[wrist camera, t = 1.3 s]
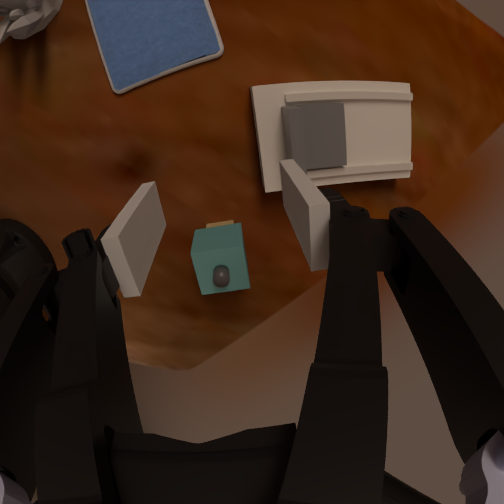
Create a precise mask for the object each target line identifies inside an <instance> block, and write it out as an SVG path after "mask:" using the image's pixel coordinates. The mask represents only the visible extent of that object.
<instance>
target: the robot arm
mask: <svg viewBox="0 0 504 504" xmlns="http://www.w3.org/2000/svg"><path fill="white" fill-rule="evenodd" d="M279 165H280V174H281V184H282V194H283V205H284V208H285V211H286V213H287V215H288V218H289V220H290V222H291V224H292V227H293V229H294V231H295V234H296V236H297V238H298V241H299V243H300V245H301V248H302V250H303V252H304V255H305V257H306V260H307V262H308V264H309V267H310V269H311V271H316V270H322V269H328V273H327V281H326V289H325V296H324V303H323V310H322V317H321V323H320V330H319V336H318V342H317V348H316V354H315V359H314V363H312V364H311V366H310V371H309V375H308V380H307V385H306V390H305V395H304V399H303V404H302V408H301V413H300V417H299V422H298V426H297V429H296V424H295V423H290V424H284V425H278V426H271V427H263V428H255V429H247V430H244V431H241V432H238V433H235V434H232V435H229V436H225V437H222V438H219V439H215V440H212V441H208V442H204V443H200V444H199V443H198V444H197V443H190V442H186V441H181V440H176V439H172V438H168V437H164V436H160V435H156V434H148V433H147V434H145V433H143V429H142V425H141V421H140V417H139V413H138V409H137V404H136V400H135V394H134V390H133V385H132V379H131V374H130V369H129V363H128V357H127V350H126V344H125V337H124V330H123V322H122V314H121V305H120V301H119V298H118V296H117V294H116V293H117V290H118V288H119V287H120V289H121V291H122V294H123V296H124V298H125V297H134V296H141V293H142V290H143V287H144V284H145V281H146V278H147V275H148V273H149V270H150V267H151V264H152V262H153V259H154V256H155V253H156V251H157V248H158V245H159V243H160V240H161V237H162V235H163V232H164V230H165V227H166V222H165V218H164V215H163V211H162V207H161V203H160V199H159V195H158V191H157V187H156V183H155V181H153V182H149V183H144V184H142V185H141V186H140V187H139V189H138V190H137V191H136V193H135V194H134V195H133V196H132V198H131V199H130V200H129V202H128V203H127V204H126V205H125V207H124V208H123V209H122V211H121V212H120V213H119V215H118V216H117V217H116V219H115V220H114V222H113V223H112V224H110V225H108V226H107V227H106V228H105V229H103V231H102V232H101V233H100V236H98V238H97V240H95V241H94V239H93V236H92V233H91V231H90V229H81V230H77V231H75V232H73V233H71V234H70V235H68V236H66V237H65V238H64V239H63V241H62V242H61V243H62V245H63V247H64V250H65V252H66V254H67V257H68V259H69V263H68V267H67V268H65V269H62V270H60V271H57V270H56V266H55V263H54V260H53V258H52V256H51V254H50V252H49V250H48V248H47V247H46V245H45V244H44V242H43V241H42V240H41V239H40V238H39V236H38V235H37V234H36V233H35V232H34V231H32V230H31V229H30V228H29V227H27V226H26V225H24V224H22V223H21V222H18V221H16V220H12V219H1V220H0V504H441V503H439V502H437V501H435V500H433V499H431V498H430V497H428V496H426V495H424V494H422V493H420V492H419V491H417V490H416V489H414V488H412V487H410V486H409V485H407V484H405V483H404V482H402V481H400V480H399V479H397V478H396V477H394V476H392V475H391V474H389V473H387V472H386V471H384V468H385V457H386V442H387V423H388V371H387V368H386V367H383V366H382V343H381V320H380V304H379V292H378V279H377V271H382V272H384V276H385V278H386V280H387V282H388V284H389V286H390V288H391V290H392V292H393V294H394V296H395V298H396V300H397V302H398V304H399V306H400V308H401V310H402V313H403V315H404V317H405V319H406V321H407V323H408V325H409V328H410V330H411V332H412V334H413V337H414V339H415V341H416V343H417V346H418V348H419V350H420V353H421V355H422V358H423V360H424V362H425V365H426V367H427V370H428V372H429V375H430V377H431V380H432V383H433V385H434V388H435V390H436V393H437V396H438V398H439V401H440V404H441V407H442V410H443V413H444V415H445V418H446V421H447V424H448V427H449V430H450V433H451V436H452V438H453V441H454V444H455V446H456V448H457V450H458V452H459V454H460V456H461V458H462V460H463V462H464V463H465V466H464V467H463V471H462V475H461V481H460V484H459V487H460V491H461V493H462V494H463V495H465V496H466V504H504V310H503V308H502V307H501V306H500V305H499V303H498V302H497V300H496V299H495V298H494V296H493V295H492V294H491V292H490V291H489V290H488V288H487V287H486V286H485V284H484V283H483V282H482V281H481V279H480V278H479V277H478V276H477V275H476V273H475V272H474V271H473V270H472V268H471V267H470V266H469V265H468V264H467V262H466V261H465V260H464V259H463V258H462V256H461V255H460V254H459V253H458V252H457V251H456V250H455V248H454V247H453V246H452V245H451V244H450V243H449V242H448V241H447V240H446V238H445V237H444V236H443V235H442V234H441V233H440V232H439V231H438V230H437V229H436V228H435V227H434V225H433V224H432V223H431V222H430V221H429V220H428V219H427V218H426V217H425V216H424V215H423V214H422V213H420V212H419V211H417V210H415V209H413V208H411V207H409V208H408V207H398V208H394V209H392V210H391V211H390V214H389V219H372V218H370V215H369V212H368V210H366V209H364V208H362V207H358V206H351V205H350V204H349V203H348V202H347V201H346V200H345V199H344V198H343V197H342V196H341V194H340V193H339V192H338V191H336V190H333V189H331V188H324V189H318V188H317V187H316V186H315V184H314V183H313V182H312V181H311V180H310V178H309V177H308V176H307V175H306V174H305V172H304V171H303V170H302V169H301V168H300V167H299V165H298V164H297V163H296V162H295V161H294V160H293V159H288V160H280V161H279ZM43 308H44V310H45V312H46V313H47V315H48V317H49V319H48V321H46V320H45V319H44V317H43V314H42V309H43ZM36 486H37V496H38V500H37V501H36V502H35V503H32V502H31V500H32V498H33V495H34V492H35V489H36Z"/></svg>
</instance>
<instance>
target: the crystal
mask: <svg viewBox="0 0 504 504" xmlns="http://www.w3.org/2000/svg"><path fill="white" fill-rule="evenodd" d="M62 2H63V0H0V11H2V12H0V17H1V16H4V20H2V21H0V43H2V42H3V41H4V40H5V39H6V38H7V37H9V36H12V37H13V38H14V39H26V38H28V37H30V36H32V35H33V34H35V33H37V32H39V31H41V30H43V29H45V27H46V26H47V25H48V24H49V22H50V21H51V20H52V19H53V17H54V16H55V15H56V14H57V13H58V12H59V10H60V7H61V4H62Z"/></svg>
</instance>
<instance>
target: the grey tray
mask: <svg viewBox="0 0 504 504" xmlns="http://www.w3.org/2000/svg"><path fill="white" fill-rule="evenodd" d="M250 92H251V100H252V107H253V114H254V122H255V129H256V137H257V144H258V152H259V160H260V168H261V176H262V184H263V187H264V189H265V192H274V191H281V190H282V184H281V174H280V165H279V161H280V160H287V157H286V147H285V137H284V128H283V119H282V110H281V106H292V105H305V104H322V103H344V113H345V129H346V151H347V165H344V166H333V167H323V168H313V169H307V176H308V177H309V178H310V180H311V181H312V182H313V183H314V184H315V186H322V185H331V184H340V183H350V182H360V181H371V180H382V179H394V178H408V177H410V170H413V163H412V162H411V100H413V93H410V83H397V82H379V81H314V82H295V83H282V84H270V85H261V86H252V87H250Z"/></svg>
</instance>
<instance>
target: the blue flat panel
mask: <svg viewBox="0 0 504 504" xmlns="http://www.w3.org/2000/svg"><path fill="white" fill-rule="evenodd" d="M85 3H86V7H87V11H88V15H89V18H90V22H91V25H92V28H93V32H94V35H95V38H96V42H97V45H98V49H99V52H100V55H101V58H102V62H103V64H104V67H105V70H106V73H107V76H108V79H109V81H110V84H111V87H112V90H113V91H114V92H115V93H117V94H122V93H125V92H127V91H129V90H131V89H133V88H134V87H138V86H140V85H143V84H145V83H147V82H150V81H152V80H154V79H157V78H159V77H162V76H165V75H167V74H170V73H173V72H175V71H178V70H181V69H184V68H186V67H189V66H192V65H195V64H198V63H202V62H205V61H208V60H211V59H215V58H218V57H220V56H221V55H222V54H223V52H224V46H223V43H222V40H221V37H220V34H219V31H218V28H217V25H216V22H215V19H214V16H213V13H212V10H211V7H210V4H209V1H208V0H85Z"/></svg>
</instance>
